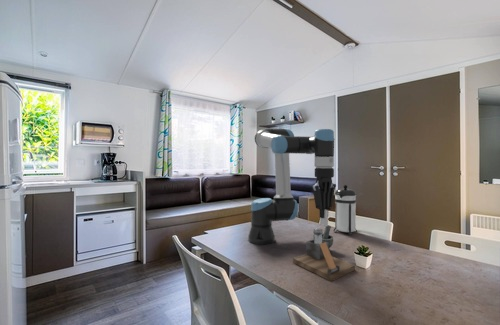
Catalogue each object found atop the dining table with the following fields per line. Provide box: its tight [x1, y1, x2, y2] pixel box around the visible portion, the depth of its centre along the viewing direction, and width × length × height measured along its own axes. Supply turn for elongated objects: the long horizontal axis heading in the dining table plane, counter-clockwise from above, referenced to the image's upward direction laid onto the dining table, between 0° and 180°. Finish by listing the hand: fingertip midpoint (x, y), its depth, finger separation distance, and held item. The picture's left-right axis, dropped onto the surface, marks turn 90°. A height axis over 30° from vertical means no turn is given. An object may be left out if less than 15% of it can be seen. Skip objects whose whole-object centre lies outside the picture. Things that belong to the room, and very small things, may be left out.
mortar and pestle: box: [312, 224, 334, 250], centre depth 123 cm, size 11×9×12 cm
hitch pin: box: [313, 228, 324, 245], centre depth 110 cm, size 4×4×14 cm
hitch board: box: [292, 239, 356, 282], centre depth 104 cm, size 20×16×8 cm
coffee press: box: [333, 184, 358, 236], centre depth 154 cm, size 17×16×30 cm
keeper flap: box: [320, 242, 338, 273], centre depth 96 cm, size 11×4×1 cm
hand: (323, 225), depth 98 cm, fingers closed
